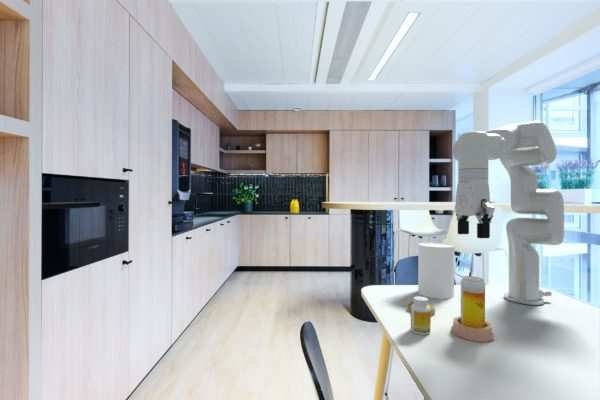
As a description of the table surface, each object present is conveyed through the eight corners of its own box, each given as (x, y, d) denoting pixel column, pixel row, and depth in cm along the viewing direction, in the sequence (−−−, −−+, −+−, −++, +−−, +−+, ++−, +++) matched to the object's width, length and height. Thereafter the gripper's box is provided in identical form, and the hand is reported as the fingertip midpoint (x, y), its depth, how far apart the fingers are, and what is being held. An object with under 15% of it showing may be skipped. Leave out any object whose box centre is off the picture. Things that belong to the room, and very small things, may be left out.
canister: (443, 288, 136) (443, 242, 136) (461, 298, 122) (461, 247, 123) (412, 289, 135) (413, 242, 135) (427, 298, 122) (427, 247, 122)
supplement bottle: (407, 328, 93) (407, 296, 93) (422, 326, 94) (423, 294, 94) (418, 336, 88) (418, 301, 88) (434, 334, 89) (434, 300, 89)
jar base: (478, 326, 95) (479, 315, 95) (502, 342, 84) (502, 330, 84) (444, 326, 95) (444, 315, 95) (464, 342, 84) (464, 330, 84)
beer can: (488, 336, 86) (488, 281, 86) (464, 334, 87) (464, 280, 87) (480, 327, 92) (480, 276, 92) (457, 325, 93) (458, 275, 93)
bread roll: (415, 317, 103) (415, 305, 103) (405, 308, 112) (405, 296, 112) (440, 317, 103) (440, 304, 103) (428, 307, 112) (428, 296, 112)
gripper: (444, 178, 98) (444, 232, 98) (478, 173, 81) (478, 239, 81) (468, 178, 98) (468, 232, 98) (506, 173, 81) (506, 239, 81)
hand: (472, 236), depth 90 cm, fingers open, 9 cm apart
